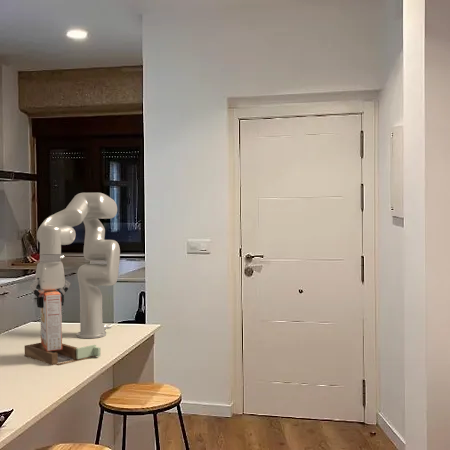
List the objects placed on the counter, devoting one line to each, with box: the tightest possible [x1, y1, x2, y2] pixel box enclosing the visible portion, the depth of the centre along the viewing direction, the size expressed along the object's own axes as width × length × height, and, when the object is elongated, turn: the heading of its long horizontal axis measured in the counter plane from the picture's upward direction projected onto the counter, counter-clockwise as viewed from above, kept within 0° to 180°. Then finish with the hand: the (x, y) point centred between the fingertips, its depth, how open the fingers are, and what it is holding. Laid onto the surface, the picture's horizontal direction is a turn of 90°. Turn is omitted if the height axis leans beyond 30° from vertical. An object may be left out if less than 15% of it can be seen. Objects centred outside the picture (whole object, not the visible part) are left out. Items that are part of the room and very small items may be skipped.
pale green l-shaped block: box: [76, 344, 101, 359], centre depth 211 cm, size 8×4×4 cm, turn 138°
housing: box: [24, 342, 98, 366], centre depth 215 cm, size 18×21×4 cm
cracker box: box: [39, 289, 63, 351], centre depth 213 cm, size 14×6×21 cm, turn 26°
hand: (50, 306), depth 213 cm, fingers closed on cracker box, 7 cm apart
